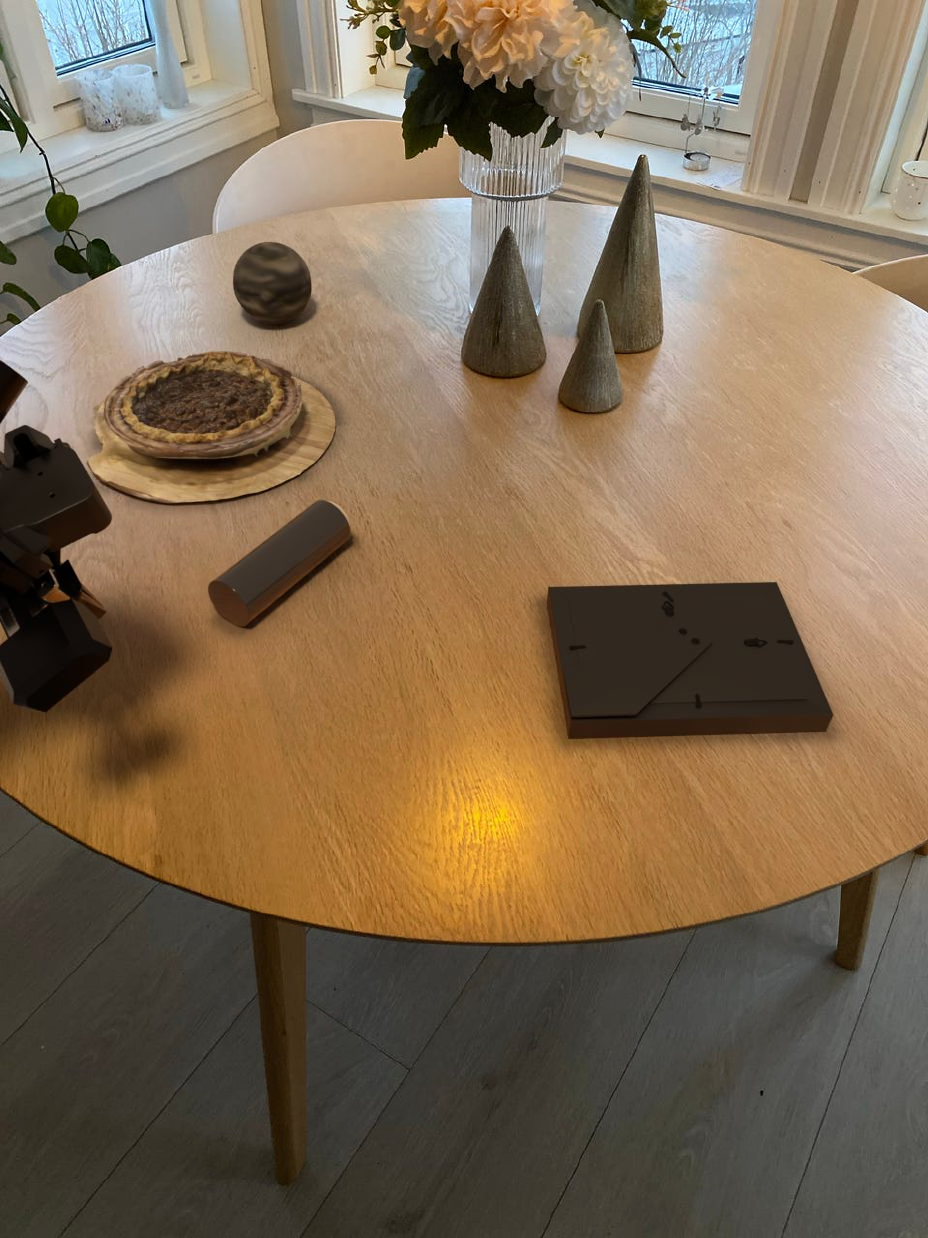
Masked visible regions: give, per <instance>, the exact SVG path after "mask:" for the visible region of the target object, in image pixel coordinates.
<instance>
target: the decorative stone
mask: <svg viewBox="0 0 928 1238" xmlns="http://www.w3.org/2000/svg"><path fill="white" fill-rule="evenodd" d="M232 274H233V275H232V276H233V277H232V287H233V288H232V289H233V293H234V296H235V298H236V300H237V302H238V304H239V306H241V308H242V309H243V310H244V312H245V313H246V314H247V315H249V316H250V317H251V318H253V319H255V320H257V321H259V322H260V323H264V324H266V325H267V324H268V325H282V324H286V323H289V322H292V321H293V320H295V319H296V318H297V317H299V316H300V315H302V313H303V312H304V310H306V307H307V306H308V304H309V302H310V299H311V296H312V289H313V287H312V286H313V285H312V284H313V283H312V276H311V271H310V269H309V267H308V264H307V263H306V261H305V260H304V259H303V257H302V256H301V255H300V254H299V253H298V252H297V251H296V250H294V249H293V248H292V247H290V246H288V245H286V244H283V243H280V242H277V241H264V242H259V243H256V244H254V245H252V246H250V247H248V248H247V249H246V250H245V251H243V252H242V254H241V255H240V256H239V258H238V260H237V261H236V263H235V265H234V269H233V273H232Z"/></svg>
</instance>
